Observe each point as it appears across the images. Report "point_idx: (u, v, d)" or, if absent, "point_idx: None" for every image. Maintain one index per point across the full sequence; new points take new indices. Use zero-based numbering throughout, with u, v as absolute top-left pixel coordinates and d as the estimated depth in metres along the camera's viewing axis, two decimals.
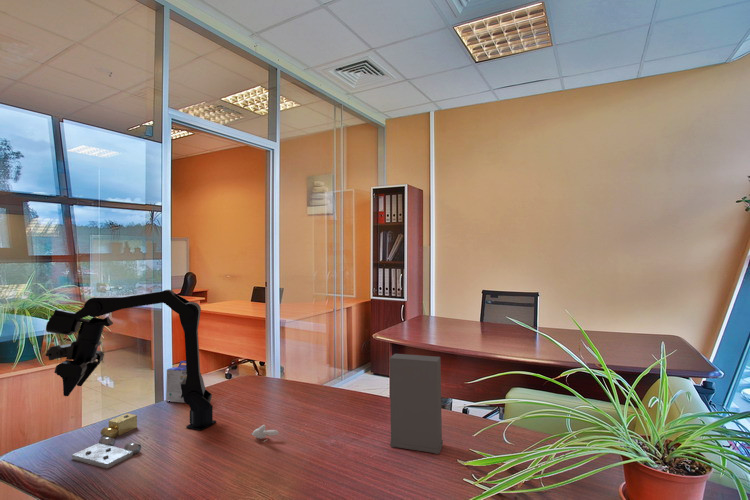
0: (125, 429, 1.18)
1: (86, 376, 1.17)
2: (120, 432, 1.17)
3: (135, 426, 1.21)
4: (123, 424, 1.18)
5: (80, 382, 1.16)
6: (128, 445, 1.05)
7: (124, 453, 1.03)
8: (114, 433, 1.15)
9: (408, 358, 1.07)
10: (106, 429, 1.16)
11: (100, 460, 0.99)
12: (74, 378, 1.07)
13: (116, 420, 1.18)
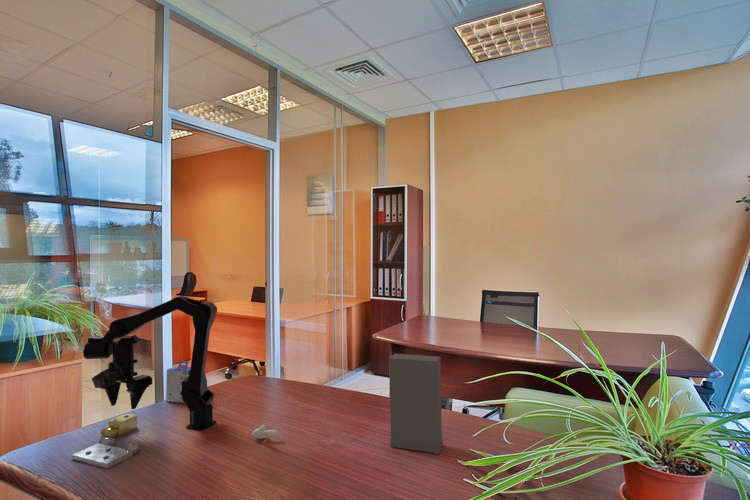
0: (125, 429, 1.18)
1: (116, 394, 1.23)
2: (120, 432, 1.17)
3: (135, 426, 1.21)
4: (123, 424, 1.18)
5: (114, 401, 1.22)
6: (128, 445, 1.05)
7: (124, 453, 1.03)
8: (114, 433, 1.15)
9: (408, 358, 1.07)
10: (106, 429, 1.16)
11: (100, 460, 0.99)
12: (140, 390, 1.19)
13: (116, 420, 1.18)
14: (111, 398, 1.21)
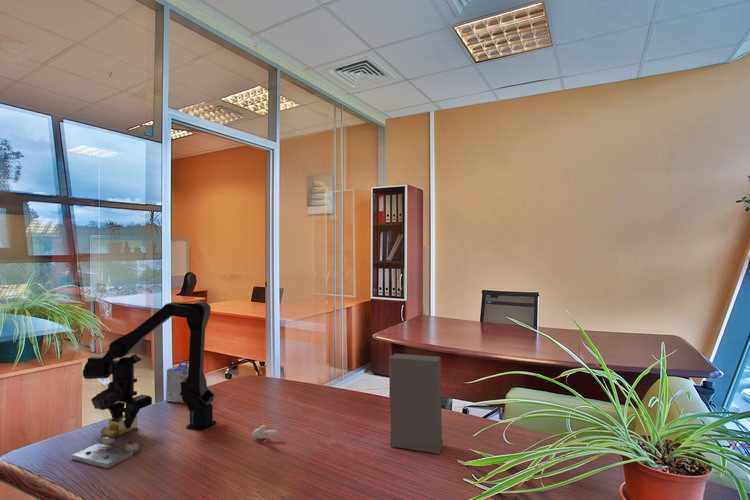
0: (125, 429, 1.18)
1: (120, 415, 1.22)
2: (120, 432, 1.17)
3: (135, 426, 1.21)
4: (123, 424, 1.18)
5: None
6: (128, 445, 1.05)
7: (124, 453, 1.03)
8: (114, 433, 1.15)
9: (408, 358, 1.07)
10: (106, 429, 1.16)
11: (100, 460, 0.99)
12: None
13: (116, 420, 1.18)
14: None
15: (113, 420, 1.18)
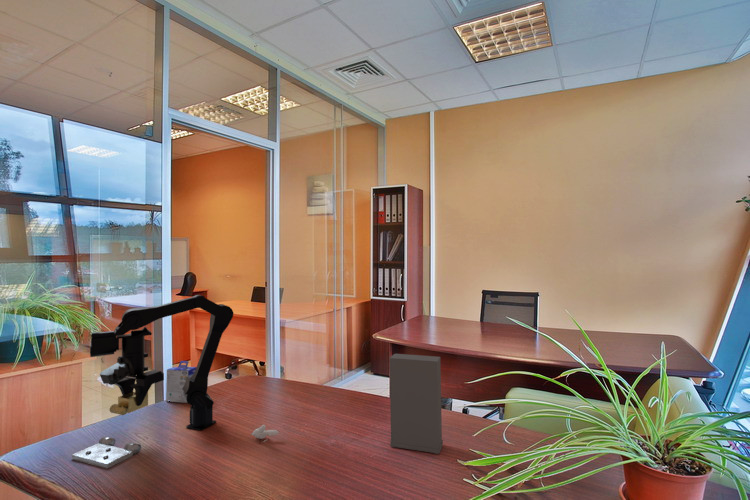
0: (135, 406, 1.11)
1: (131, 392, 1.14)
2: (130, 409, 1.09)
3: (146, 404, 1.14)
4: (133, 401, 1.10)
5: None
6: (128, 445, 1.05)
7: (124, 453, 1.03)
8: (124, 410, 1.07)
9: (408, 358, 1.07)
10: (115, 406, 1.08)
11: (100, 460, 0.99)
12: (146, 385, 1.12)
13: (126, 397, 1.10)
14: None
15: (123, 397, 1.10)
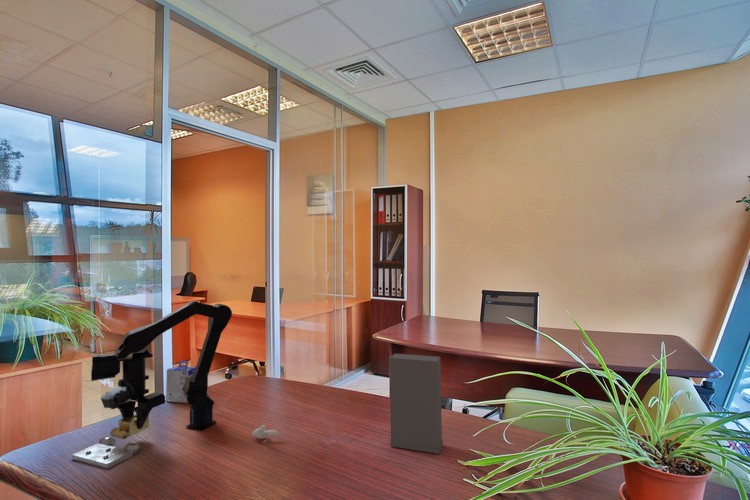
0: (136, 429, 1.10)
1: (131, 414, 1.14)
2: (131, 433, 1.09)
3: (147, 426, 1.13)
4: (134, 424, 1.10)
5: None
6: (128, 445, 1.05)
7: (124, 453, 1.03)
8: (125, 434, 1.07)
9: (408, 358, 1.07)
10: (116, 429, 1.07)
11: (100, 460, 0.99)
12: None
13: (127, 420, 1.10)
14: None
15: (123, 420, 1.10)
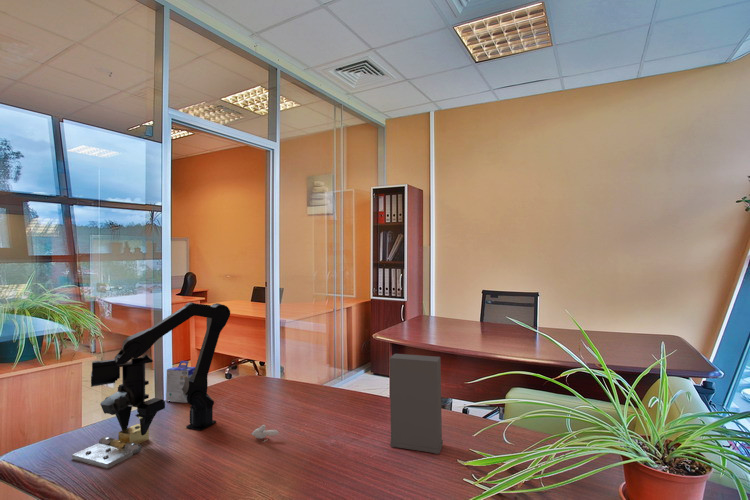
0: (136, 441, 1.10)
1: (127, 419, 1.14)
2: None
3: (147, 438, 1.13)
4: (134, 436, 1.09)
5: (125, 427, 1.13)
6: (128, 445, 1.05)
7: (124, 453, 1.03)
8: None
9: (408, 358, 1.07)
10: (116, 442, 1.07)
11: (100, 460, 0.99)
12: (151, 414, 1.11)
13: (127, 432, 1.10)
14: (122, 423, 1.12)
15: (123, 432, 1.10)
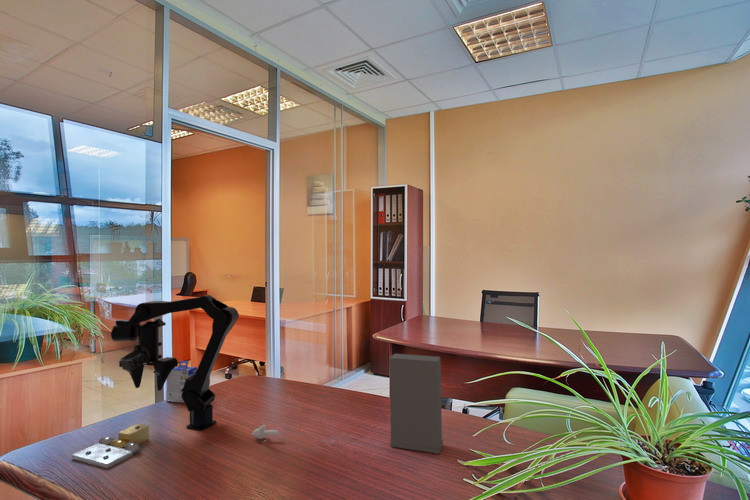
0: (136, 441, 1.10)
1: (140, 377, 1.25)
2: None
3: (147, 438, 1.13)
4: (134, 436, 1.09)
5: (138, 384, 1.24)
6: (128, 445, 1.05)
7: (124, 453, 1.03)
8: None
9: (408, 358, 1.07)
10: (116, 442, 1.07)
11: (100, 460, 0.99)
12: (166, 372, 1.22)
13: (127, 432, 1.10)
14: (135, 380, 1.23)
15: (123, 432, 1.10)
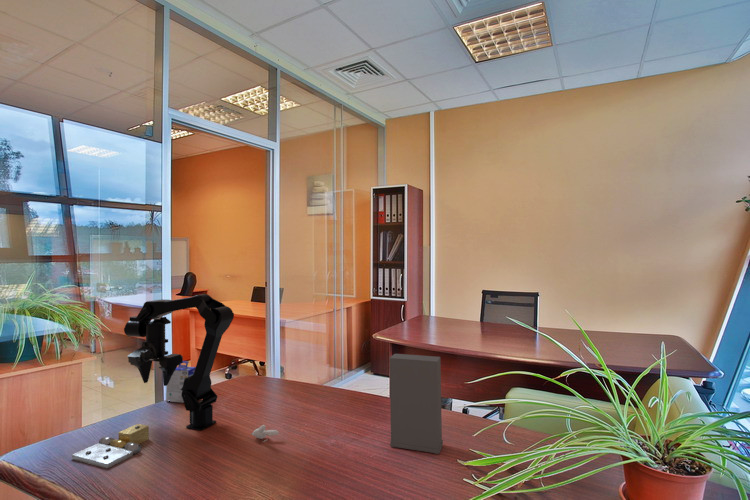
0: (136, 441, 1.10)
1: (148, 373, 1.30)
2: None
3: (147, 438, 1.13)
4: (134, 436, 1.09)
5: (146, 379, 1.29)
6: (128, 445, 1.05)
7: (124, 453, 1.03)
8: None
9: (408, 358, 1.07)
10: (116, 442, 1.07)
11: (100, 460, 0.99)
12: (172, 368, 1.26)
13: (127, 432, 1.10)
14: (144, 376, 1.28)
15: (123, 432, 1.10)
